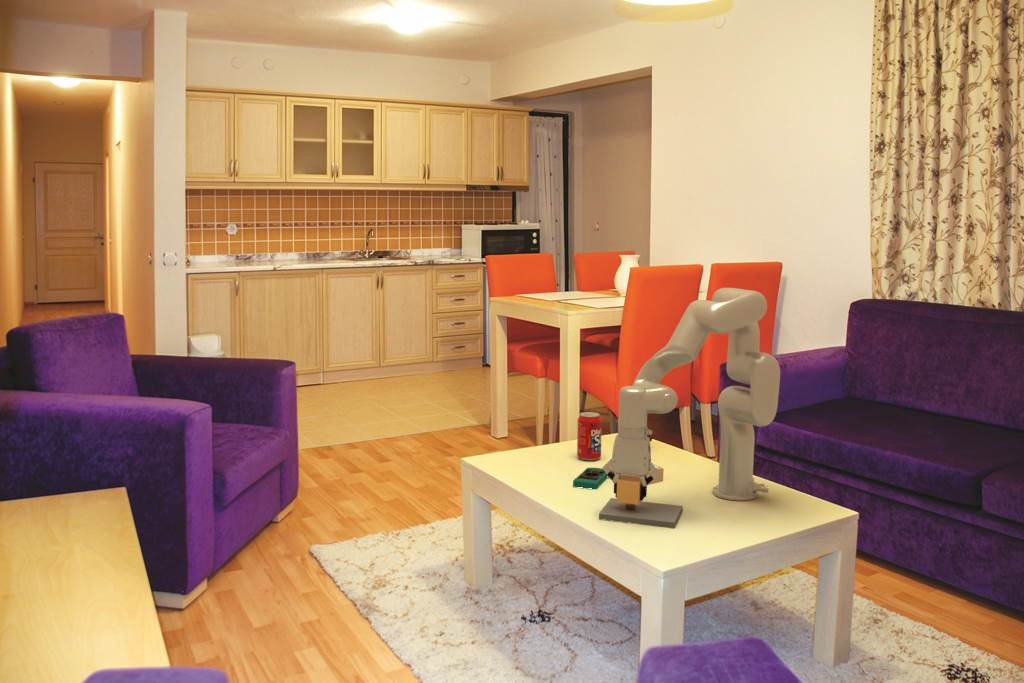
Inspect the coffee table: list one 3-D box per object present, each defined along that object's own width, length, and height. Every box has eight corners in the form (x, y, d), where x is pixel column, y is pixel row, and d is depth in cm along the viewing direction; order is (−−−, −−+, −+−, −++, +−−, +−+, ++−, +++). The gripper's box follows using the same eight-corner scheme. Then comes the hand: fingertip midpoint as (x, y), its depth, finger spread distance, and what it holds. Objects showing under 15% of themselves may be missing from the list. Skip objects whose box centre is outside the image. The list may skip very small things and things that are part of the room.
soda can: (575, 455, 302) (575, 411, 300) (598, 455, 303) (599, 411, 300) (579, 462, 294) (580, 417, 292) (603, 461, 295) (604, 416, 293)
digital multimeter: (609, 477, 279) (609, 468, 279) (596, 491, 265) (596, 481, 265) (586, 475, 282) (586, 465, 281) (572, 488, 268) (572, 479, 268)
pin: (636, 507, 245) (636, 493, 245) (634, 510, 243) (634, 496, 242) (626, 506, 246) (627, 492, 246) (624, 509, 244) (625, 495, 243)
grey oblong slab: (682, 511, 247) (682, 505, 247) (674, 528, 234) (674, 522, 234) (610, 503, 254) (610, 497, 253) (598, 519, 241) (598, 513, 240)
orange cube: (643, 498, 246) (643, 476, 245) (638, 504, 240) (639, 482, 240) (621, 495, 248) (621, 474, 247) (616, 502, 242) (617, 480, 241)
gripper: (666, 432, 242) (664, 497, 245) (603, 426, 248) (601, 490, 250) (662, 438, 235) (659, 505, 238) (597, 432, 241) (595, 498, 243)
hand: (629, 497), depth 244 cm, fingers closed on orange cube, 5 cm apart
